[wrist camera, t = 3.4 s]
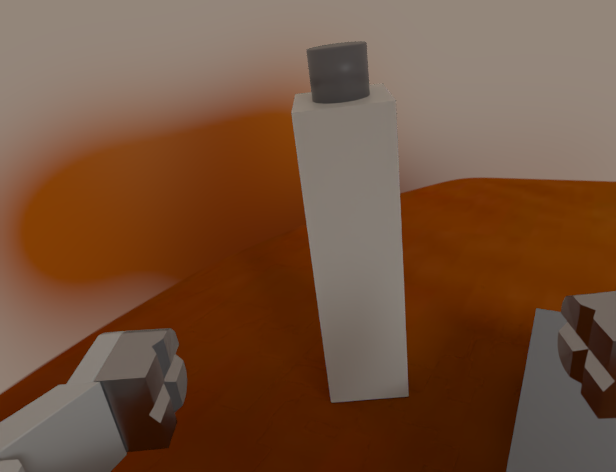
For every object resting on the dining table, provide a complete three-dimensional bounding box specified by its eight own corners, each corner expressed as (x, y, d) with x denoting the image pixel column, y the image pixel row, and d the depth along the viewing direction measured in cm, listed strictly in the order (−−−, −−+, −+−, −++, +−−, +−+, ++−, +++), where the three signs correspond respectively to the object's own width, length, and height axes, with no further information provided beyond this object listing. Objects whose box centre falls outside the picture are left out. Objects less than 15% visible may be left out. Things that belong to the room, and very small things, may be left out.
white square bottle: (329, 352, 29) (289, 48, 21) (397, 346, 29) (380, 36, 21) (331, 402, 25) (283, 58, 18) (408, 396, 25) (393, 44, 18)
